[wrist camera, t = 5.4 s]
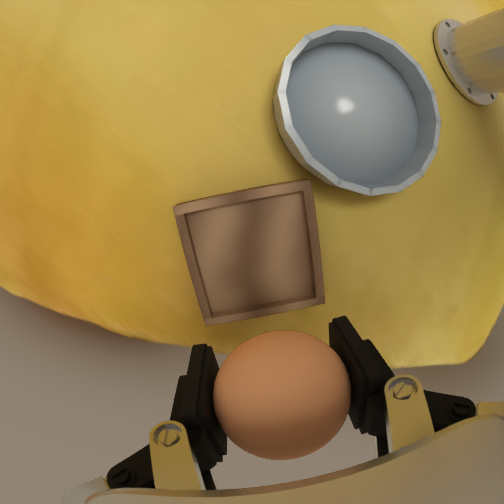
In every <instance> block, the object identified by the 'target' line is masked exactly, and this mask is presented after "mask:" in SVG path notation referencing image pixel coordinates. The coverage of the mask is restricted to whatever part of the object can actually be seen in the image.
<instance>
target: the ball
mask: <svg viewBox="0 0 504 504" xmlns="http://www.w3.org/2000/svg"><path fill="white" fill-rule="evenodd" d="M350 404H351V383H350V378H349V374H348V372H347V369H346V367H345V365H344V363H343V362H342V360H341V358H340V357H339V356H338V355H337V353H336V352H335V351H334V350H333V349H332V348H331V347H330V346H328V345H327V344H326V343H324V342H323V341H321V340H319V339H318V338H316V337H314V336H311V335H309V334H305V333H302V332H297V331H288V330H282V331H271V332H267V333H263V334H260V335H257V336H255V337H253V338H250V339H248V340H247V341H245V342H243V343H242V344H241V345H239V346H238V347H237V348H236V349H235V350H233V351H232V352H231V353H230V355H229V356H228V357H227V358H226V360H225V361H224V363H223V364H222V366H221V367H220V369H219V371H218V374H217V376H216V380H215V383H214V389H213V405H214V411H215V415H216V417H217V420H218V422H219V425H220V426H221V428H222V430H223V431H224V432H225V434H226V435H227V436H228V437H229V438H230V439H231V441H233V442H234V443H235V444H236V445H237V446H238V447H240V448H241V449H243V450H244V451H246V452H248V453H250V454H253V455H255V456H258V457H261V458H266V459H271V460H289V459H295V458H299V457H303V456H306V455H308V454H310V453H313V452H315V451H316V450H318V449H320V448H321V447H323V446H324V445H326V444H327V443H328V442H329V441H330V440H331V439H332V438H333V437H334V436H335V435H336V434H337V433H338V431H339V430H340V428H341V427H342V425H343V424H344V422H345V420H346V417H347V415H348V412H349V409H350Z"/></svg>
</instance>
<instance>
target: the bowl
mask: <svg viewBox="0 0 504 504" xmlns="http://www.w3.org/2000/svg"><path fill="white" fill-rule="evenodd" d="M273 108H274V115H275V120H276V124H277V128H278V130H279V133H280V135H281V138H282V140H283V142H284V143H285V145H286V147H287V149H288V150H289V151H290V153H291V154H292V155H293V157H294V158H295V159H296V160H297V161H298V163H300V165H301V166H303V167H304V168H305V169H306V170H307V171H308V172H310V173H311V174H312V175H314V176H316V177H317V178H319V179H320V180H322V181H324V182H325V183H326V184H329V185H333V186H337V187H340V188H344V189H347V190H351V191H354V192H357V193H360V194H364V195H367V196H375V195H382V194H389V193H396V192H401V191H402V190H404V189H405V188H406V187H408V186H409V185H411V184H412V183H414V182H415V181H417V180H418V179H419V178H421V177H422V176H423V175H424V173H425V172H426V170H427V168H428V167H429V165H430V163H431V161H432V160H433V158H434V156H435V154H436V153H437V149H438V142H439V135H440V127H441V119H440V114H439V109H438V104H437V99H436V95H435V91H434V89H433V88H432V86H431V84H430V82H429V80H428V78H427V77H426V75H425V73H424V71H423V70H422V68H421V66H420V65H419V63H418V62H417V61H416V60H415V59H414V58H413V57H412V56H411V55H410V54H408V53H407V52H406V51H405V50H404V49H403V48H402V47H401V46H400V45H399V44H398V43H396V42H395V41H394V40H392V39H390V38H388V37H386V36H384V35H381V34H379V33H377V32H375V31H373V30H370V29H368V28H366V27H358V26H345V25H332V26H329V27H326V28H323V29H321V30H318V31H315V32H313V33H310V34H307V35H305V36H304V37H303V39H302V40H301V41H300V42H299V43H298V44H297V45H296V46H295V48H294V49H293V50H292V51H291V52H290V53H289V54H288V56H287V57H286V58H285V59H284V61H283V64H282V66H281V68H280V71H279V75H278V79H277V83H276V86H275V91H274V97H273Z"/></svg>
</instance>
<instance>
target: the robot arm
mask: <svg viewBox="0 0 504 504" xmlns="http://www.w3.org/2000/svg"><path fill="white" fill-rule="evenodd" d="M434 42H435V47H436V51H437V54H438V57H439V59H440V61H441V64H442V66H443V68H444V70H445V72H446V73H447V75H448V76H449V78H450V80H451V81H452V82H453V84H454V85H455V86H456V88H457V89H458V90H459V91H460V92H461V93H462V94H463V95H464V96H465V97H466V98H467V99H468V100H470V101H471V102H473V103H474V104H477V105H490V104H492V103H494V101H495V100H496V98H497V95H498V92H503V91H504V8H503V9H500V10H497V11H494V12H492V13H489V14H487V15H484V16H481V17H479V18H476V19H474V20H472V21H469V22H467V23H465V24H462V23H461V22H459V21H456V20H453V19H445V20H443V21H441V22H439V23H438V24H437V25H436V27H435V30H434ZM329 344H330V347H331V348H332V349H333V350H334V351H335V352H336V353H337V355H338V356H339V357H340V358H341V360H342V362H343V363H344V365H345V367H346V369H347V372H348V374H349V378H350V383H351V404H350V409H349V412H348V414H349V416H350V419H351V421H352V423H353V426H354V428H355V429H358V428H359V429H360V432H361V434H364V433H367V432H368V434H369V435H373V436H374V444H375V459H373V460H371V461H368V462H365V463H362V464H359V465H356V466H353V467H350V468H346V469H343V470H339V471H336V472H333V473H329V474H325V475H321V476H317V477H312V478H308V479H303V480H299V481H293V482H288V483H281V484H276V485H269V486H260V487H251V488H241V489H226V490H219V488H218V485H217V482H216V479H215V476H214V473H213V470H212V468H213V467H214V466H215V465H216V462H222V461H223V455H226V454H227V435H226V434H225V432H224V431H223V430H222V428H221V426H220V425H219V422H218V420H217V417H216V415H215V411H214V405H213V389H214V383H215V380H216V376H217V374H218V371H219V367H218V364H217V361H216V358H215V355H214V352H213V349H212V347H211V346H208V347H207V345H206V344H198V345H193V347H192V351H191V356H190V361H189V366H188V371H187V375H183V376H180V377H179V380H178V384H177V389H176V394H175V398H174V403H173V408H172V413H171V417H170V421H164V422H161V423H159V424H157V425H156V426H155V427H154V428H153V429H152V430H151V432H150V434H149V444H148V445H147V446H145V447H144V448H142V449H141V450H139V451H138V452H136V453H135V454H133V455H131V456H130V457H128V458H127V459H125V460H123V461H122V462H120V463H118V464H117V465H115V466H114V467H112V468H111V469H110V470H109V472H108V474H107V477H105V478H103V477H102V476H101V477H99V478H97V479H94V480H91V481H89V482H87V483H84V484H81V485H79V486H76V487H74V488H71V489H69V490H67V491H66V492H65V493H64V494H63V496H62V504H504V402H478V404H474V403H473V402H472V401H471V400H470V399H468V398H464V397H460V396H453V395H448V394H442V393H436V392H431V391H426V390H423V388H422V385H421V383H420V382H419V380H418V379H416V378H415V377H413V376H411V375H397V376H395V375H394V374H393V372H392V371H391V369H390V368H389V366H388V365H387V363H386V362H385V360H384V359H383V358H382V356H381V355H380V353H379V352H378V350H377V349H376V348H375V346H374V345H373V343H372V342H371V341H370V340H369V339H367V340H362V339H361V337H360V336H359V334H358V333H357V331H356V330H355V328H354V327H353V326H352V324H351V323H350V321H349V320H348V318H347V317H346V316H341V317H338V318H334V319H333V320H332V322H331V323H329Z"/></svg>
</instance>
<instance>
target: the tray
mask: <svg viewBox="0 0 504 504" xmlns="http://www.w3.org/2000/svg"><path fill="white" fill-rule="evenodd" d="M173 210H174V214H175V218H176V222H177V226H178V230H179V234H180V238H181V242H182V246H183V249H184V253H185V257H186V261H187V264H188V268H189V271H190V275H191V278H192V282H193V285H194V289H195V292H196V295H197V299H198V302H199V305H200V308H201V312H202V315H203V318H204V321H205V324H206V326H209V325H215V324H222V323H228V322H234V321H239V320H245V319H251V318H256V317H262V316H267V315H272V314H277V313H282V312H287V311H292V310H297V309H301V308H306V307H311V306H315V305H319V304H324V303H325V295H324V284H323V273H322V263H321V253H320V244H319V236H318V228H317V220H316V212H315V205H314V198H313V191H312V185H311V180H309V179H301V180H295V181H289V182H283V183H277V184H271V185H266V186H260V187H255V188H250V189H244V190H239V191H234V192H229V193H224V194H220V195H215V196H210V197H206V198H201V199H197V200H192V201H188V202H184V203H179V204H176V205H175V206H173Z"/></svg>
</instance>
